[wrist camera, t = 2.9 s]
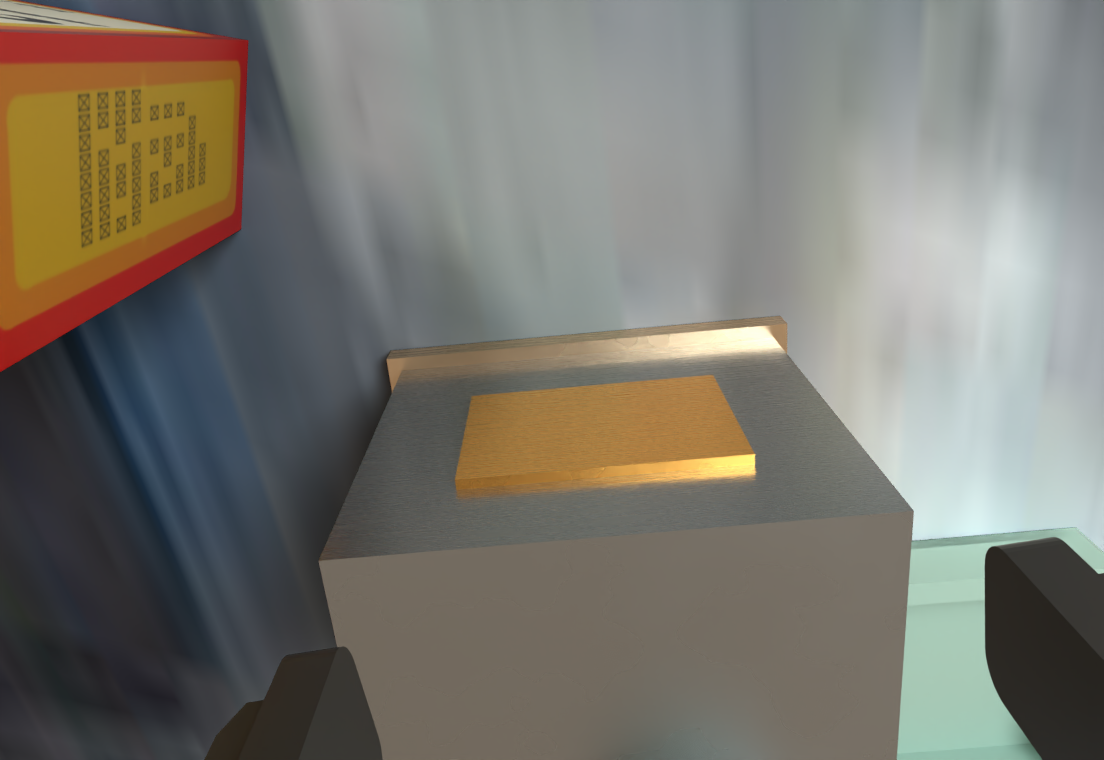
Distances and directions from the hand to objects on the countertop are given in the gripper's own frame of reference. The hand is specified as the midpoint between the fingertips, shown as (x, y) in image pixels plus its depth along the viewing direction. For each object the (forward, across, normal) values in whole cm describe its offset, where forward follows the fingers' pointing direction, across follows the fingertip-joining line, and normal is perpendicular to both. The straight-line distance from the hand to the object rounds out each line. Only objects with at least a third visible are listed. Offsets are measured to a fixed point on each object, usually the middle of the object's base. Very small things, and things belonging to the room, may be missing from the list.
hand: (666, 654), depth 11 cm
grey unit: (+23, +1, +7) cm, 24 cm away
